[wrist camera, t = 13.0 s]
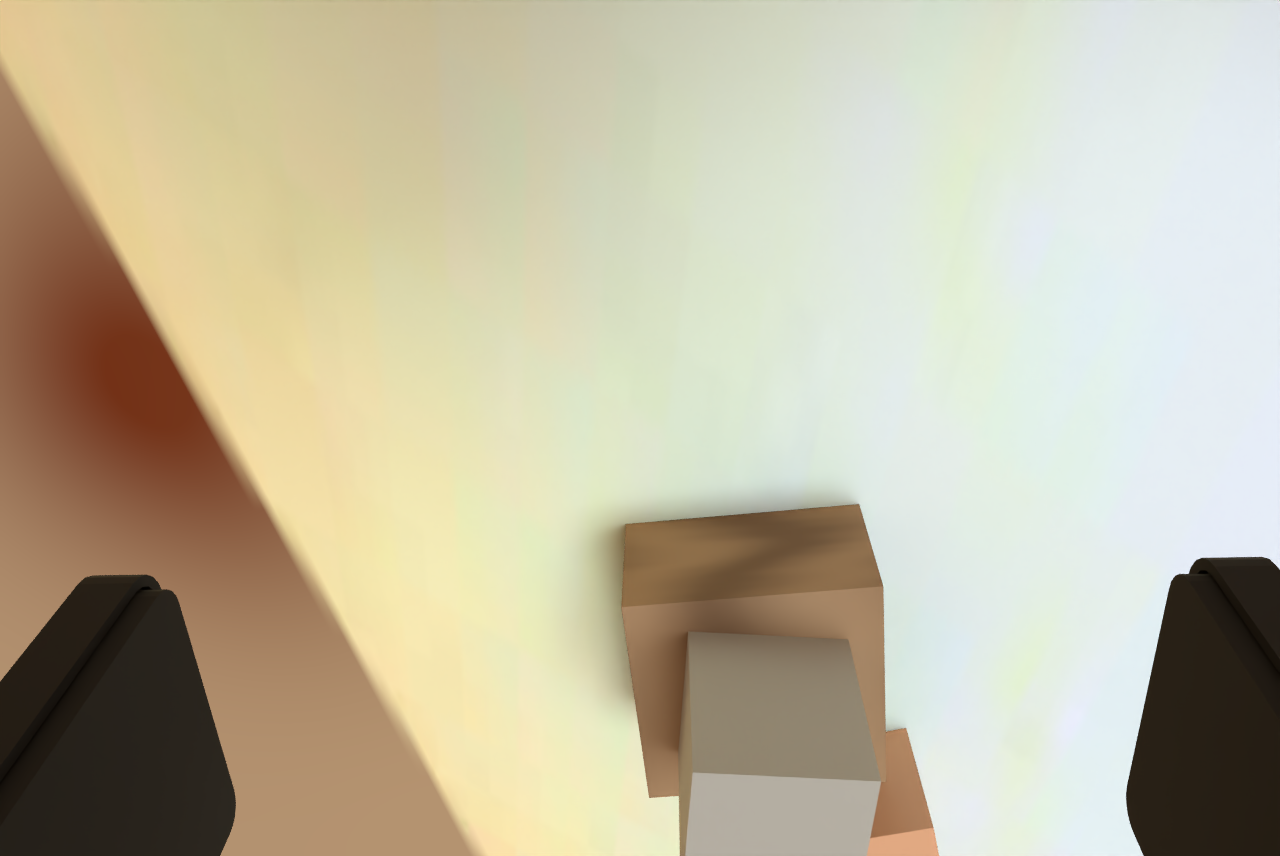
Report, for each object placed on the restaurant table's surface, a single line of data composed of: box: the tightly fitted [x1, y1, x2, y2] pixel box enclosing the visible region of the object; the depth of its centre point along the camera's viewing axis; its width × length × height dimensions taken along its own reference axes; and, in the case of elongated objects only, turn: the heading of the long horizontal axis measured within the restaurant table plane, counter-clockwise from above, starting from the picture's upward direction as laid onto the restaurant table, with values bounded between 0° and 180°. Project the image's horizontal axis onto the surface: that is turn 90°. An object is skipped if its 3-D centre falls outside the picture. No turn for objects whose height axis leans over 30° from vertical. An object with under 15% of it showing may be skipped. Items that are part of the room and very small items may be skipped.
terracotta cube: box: [867, 728, 939, 856], centre depth 42 cm, size 5×5×5 cm
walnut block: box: [621, 504, 886, 798], centre depth 39 cm, size 8×8×5 cm
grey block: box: [678, 632, 881, 856], centre depth 34 cm, size 5×5×6 cm
